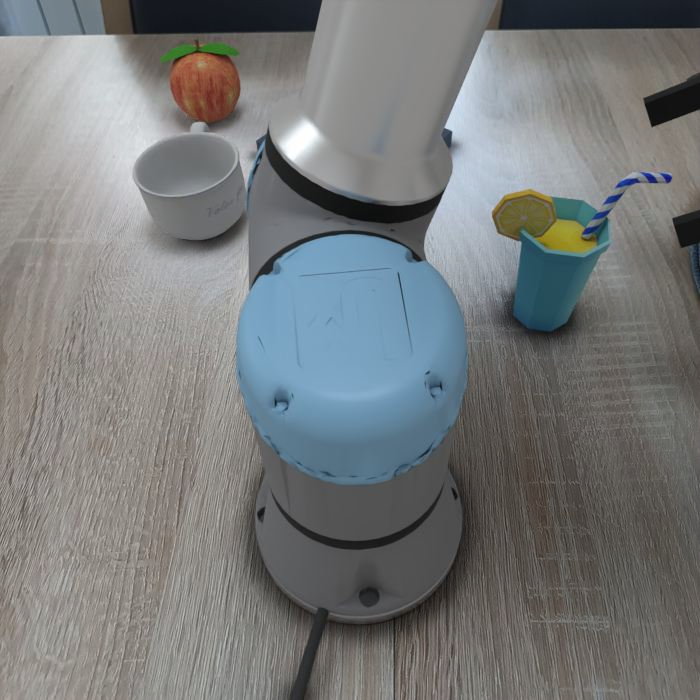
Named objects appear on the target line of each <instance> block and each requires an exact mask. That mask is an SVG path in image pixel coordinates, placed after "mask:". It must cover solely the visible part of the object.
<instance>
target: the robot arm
mask: <svg viewBox="0 0 700 700" xmlns="http://www.w3.org/2000/svg"><path fill="white" fill-rule="evenodd" d="M498 2H499V0H321V3H320V4H321V5H320V9H319V12H318V13H319V14H318V18H317V23H316V27H315V31H314V36H313V41H312V44H311V50H310V53H309V58H308V63H307V68H306V72H305V76H304V79H303V80H304V81H303V84H302V87H300V88H298V89H296V90H294V91H291V92H288V93H287V94H286V95H284V96H282V97H280V99H278V101H276V103H275V105H274V106H273V107H272V109H271V112H270V114H269V118H268V119H269V120H268V124H267V129H266V133H265V134H266V139H265V140H264V142H263V143H262V145H261V146H260V148H259V150H258V151H257V153H256V154H255V156H254V159H253V162H252V166H251V169H250V171H249V175H248V179H247V184H246V204H245V209H246V218H247V224H248V225H247V226H248V228H247V229H248V234H247V235H248V237H247V238H248V239H247V240H248V293H247V295H246V298H245V299H244V302H243V305H242V307H241V310H240V314H239V317H238V322H237V328H236V339H235V340H236V344H235V345H236V348H235V371H236V379H237V385H238V389H239V391H240V394H241V396H242V398H243V401H244V405H245V410H246V413H247V415H248V416H249V417H250V421H251V424H252V428H253V431H254V435H255V438H256V442H257V446H258V449H259V453H260V458H261V461H262V465H263V468H264V472H265V474H264V476H263V479H262V482H261V484H260V487H259V491H258V494H257V498H256V504H255V509H254V532H255V538H256V542H257V545H258V549H259V552H260V555H261V558H262V561H263V564H264V566H265V568H266V570H267V572H268V574H269V575H270V577H271V579H272V580H273V582H274V583H275V585H276V586H277V587H278V588H279V589H280V591H281V592H282V593H283V594H284V595H285V596H286V597H287V598H288V599H290V601H292V602H293V603H294V604H296V605H297V606H298V607H300V608H301V609H303V610H305V611H307V612H308V613H310V614H312V615H314V616H315V617H314V618H313V619H314V620H313V623H312V626H311V628H310V632H309V634H308V639H307V642H306V644H305V648H304V651H303V655H302V658H301V661H300V665H299V668H298V671H297V675H296V679H295V681H294V684H293V688H292V689H291V693H290V696H289V699H288V700H303V699H304V696H305V693H306V689H307V686H308V683H309V680H310V676H311V673H312V669H313V667H314V666H313V665H314V663H315V659H316V655H317V652H318V649H319V647H320V646H319V645H320V643H321V639H322V637H323V632H324V629H325V626H326V624H327V621H332V622H336V623H342V624H348V625H368V624H376V623H383V622H385V621H390V620H393V619H395V618H398V617H400V616H403V615H406V614H407V613H409V612H411V611H412V610H414V609H416V608H417V607H419V606H420V605H422V604H423V603H424V602H426V600H428V599H429V598H430V597H431V596H432V595H433V594H434V593H435V592H436V591H437V590H438V589H439V588H440V586H441V585H442V583H444V581H445V579H446V577H447V576H448V575H449V573H450V571H451V569H452V566H453V565H454V562H455V559H456V557H457V554H458V549H459V546H460V542H461V537H462V532H463V507H462V502H461V497H460V494H459V489H458V487H457V484H456V481H455V478H454V477H453V475H452V473H451V470H450V469H449V467H448V466H449V460H450V456H451V451H452V444H453V441H454V435H455V431H456V426H457V420H458V416H459V412H460V408H461V406H462V405H463V400H464V399H463V397H464V395H465V394H466V393H465V392H466V389H467V384H468V383H467V382H468V375H467V373H468V367H469V360H468V359H469V357H468V356H469V351H468V343H467V330H466V324H465V318H464V315H463V311H462V308H461V306H460V304H459V302H458V299H457V296H456V294H455V293H454V291H453V289H452V287H451V286H450V285H449V284H448V282H447V280H446V279H445V277H444V276H443V275H442V274H441V273H440V272H439V271H438V269H437V268H436V267H435V266H433V264H431V262H429V261H428V259H427V256H426V252H425V239H426V235H427V232H428V229H429V227H430V225H431V223H432V220H433V218H434V216H435V214H436V212H437V209H438V207H439V206H440V203H441V201H442V198H443V196H444V193H445V191H446V189H447V187H448V186H449V185H448V184H449V182H450V180H451V178H452V175H453V169H454V165H453V164H454V163H453V158H452V154H451V151H450V149H449V148H448V147H447V145H446V144H445V142H444V140H443V138H442V136H441V135H442V132H443V130H444V128H446V125H447V122H448V120H449V118H450V116H451V113H452V111H453V109H454V107H455V104H456V101H457V99H458V98H459V97H458V96H459V95H460V91H461V90H462V88H463V84H464V82H465V80H466V77H467V75H468V73H469V70H470V68H471V65H472V63H473V61H474V59H475V56H476V54H477V51H478V49H479V46H480V44H481V42H482V39H483V38H484V34H485V32H486V30H487V28H488V25H489V22H490V21H491V18H492V15H493V13H494V12H495V8H496V6H497V3H498ZM642 100H643V104H644V108H645V111H646V113H647V117H648V121H649V124H650V127H651V128H654V127H657V126H660V125H663V124H665V123H668V122H671V121H674V120H676V119H678V118H681V117H684V116H686V115H689V114H692V113H694V112H697V111H700V72H697V73H694V74H692V75H690V76H689V77H687V78H686V81H683V82H680V83H678V84H675V85H673V86H670V87H668V88H665V89H663V90H660V91H657V92H655V93H653V94H650V95H648V96H645V97H643V98H642ZM671 220H672V224H673V227H674V230H675V234H676V237H677V240H678V243H679V247H680V249H684V248H687V247H691V246H694V245H697V244H700V209H697V210H694V211H691V212H688V213H684V214H681V215H677V216H675V217H672V218H671Z"/></svg>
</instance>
